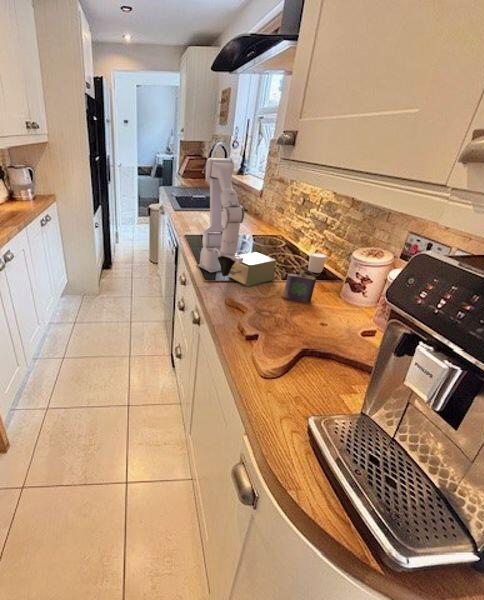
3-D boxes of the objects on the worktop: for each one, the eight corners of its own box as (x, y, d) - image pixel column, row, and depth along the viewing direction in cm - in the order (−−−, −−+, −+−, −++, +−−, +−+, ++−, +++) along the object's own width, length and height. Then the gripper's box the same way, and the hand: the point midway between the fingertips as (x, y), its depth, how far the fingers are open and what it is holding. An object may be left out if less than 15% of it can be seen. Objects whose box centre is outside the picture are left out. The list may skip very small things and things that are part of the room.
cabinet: (247, 286, 125) (250, 265, 121) (229, 276, 133) (231, 256, 129) (272, 280, 131) (276, 259, 127) (253, 271, 139) (256, 252, 135)
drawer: (234, 286, 122) (237, 269, 119) (219, 277, 129) (220, 261, 126) (267, 278, 130) (270, 262, 127) (250, 270, 137) (253, 255, 134)
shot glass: (303, 268, 143) (306, 253, 140) (314, 266, 146) (318, 251, 142) (315, 274, 137) (319, 258, 134) (327, 272, 140) (331, 256, 137)
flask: (282, 298, 116) (288, 270, 111) (283, 295, 118) (289, 267, 113) (310, 303, 112) (317, 275, 108) (310, 300, 115) (317, 272, 110)
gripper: (208, 236, 122) (205, 270, 128) (234, 247, 110) (229, 284, 116) (223, 235, 125) (219, 268, 131) (249, 245, 114) (244, 280, 120)
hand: (225, 275), depth 124 cm, fingers closed, pressing on drawer
